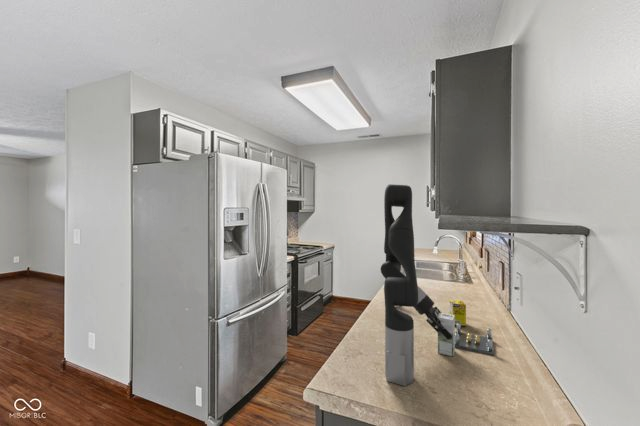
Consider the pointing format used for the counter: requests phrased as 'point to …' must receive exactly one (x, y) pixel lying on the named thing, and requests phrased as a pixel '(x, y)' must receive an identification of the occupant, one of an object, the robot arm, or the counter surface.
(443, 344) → the syrup box
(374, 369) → the counter surface
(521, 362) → the counter surface
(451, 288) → the counter surface
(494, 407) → the counter surface
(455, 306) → the supplement box
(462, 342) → the chassis plate
